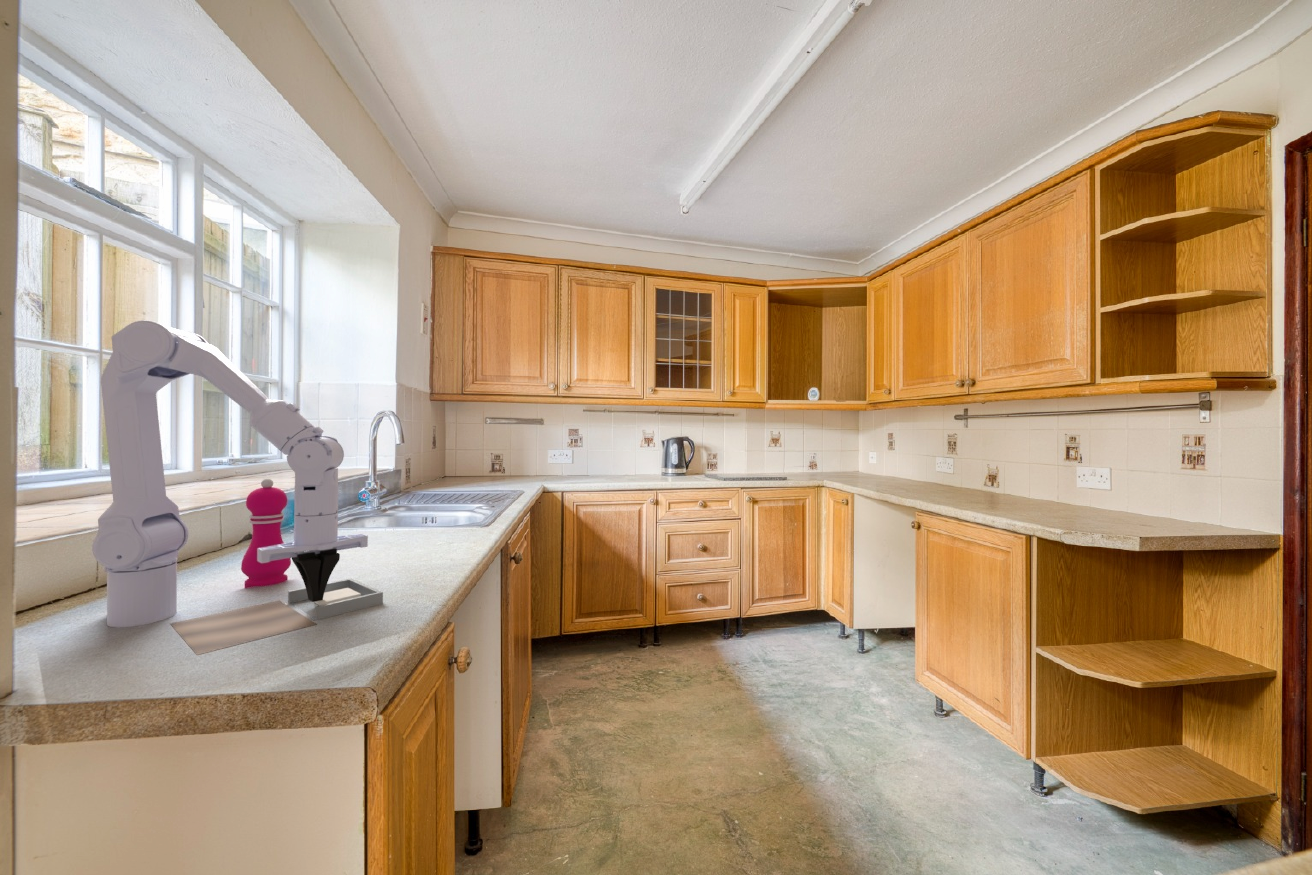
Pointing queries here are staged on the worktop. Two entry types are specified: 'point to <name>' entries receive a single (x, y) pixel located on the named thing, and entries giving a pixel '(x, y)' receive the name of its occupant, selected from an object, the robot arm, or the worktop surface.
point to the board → (239, 626)
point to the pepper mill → (265, 535)
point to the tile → (338, 596)
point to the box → (323, 611)
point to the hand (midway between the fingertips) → (315, 599)
